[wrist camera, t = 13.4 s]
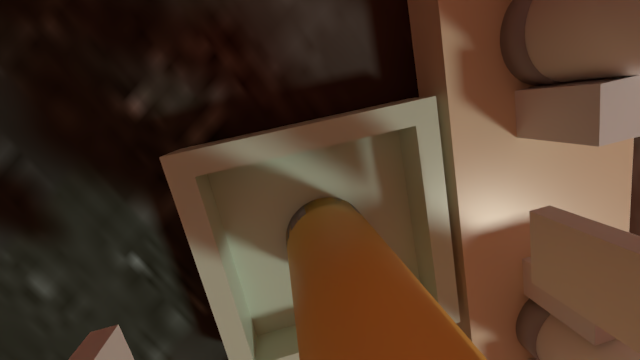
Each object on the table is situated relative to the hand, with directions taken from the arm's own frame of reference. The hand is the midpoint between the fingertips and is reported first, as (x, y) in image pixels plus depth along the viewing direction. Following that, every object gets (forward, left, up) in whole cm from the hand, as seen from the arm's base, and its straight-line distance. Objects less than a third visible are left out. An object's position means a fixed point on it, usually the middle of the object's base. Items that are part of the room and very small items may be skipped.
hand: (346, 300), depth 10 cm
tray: (0, 0, -6) cm, 6 cm away
